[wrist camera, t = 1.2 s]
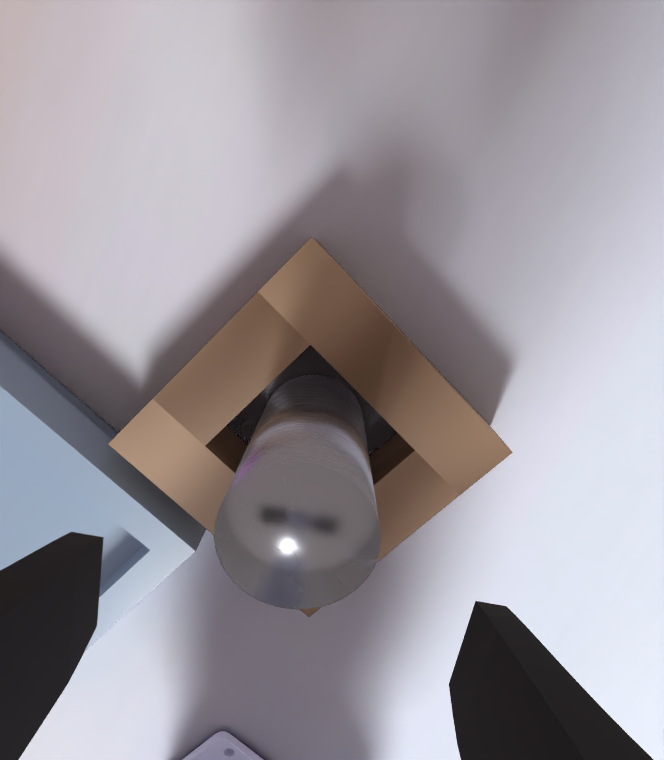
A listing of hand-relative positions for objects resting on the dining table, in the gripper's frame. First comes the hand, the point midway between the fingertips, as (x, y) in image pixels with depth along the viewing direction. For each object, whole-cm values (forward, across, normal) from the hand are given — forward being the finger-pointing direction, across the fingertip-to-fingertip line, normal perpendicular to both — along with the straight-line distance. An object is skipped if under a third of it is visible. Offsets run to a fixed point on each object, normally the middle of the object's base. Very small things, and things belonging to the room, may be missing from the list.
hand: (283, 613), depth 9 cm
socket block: (+10, 0, 0) cm, 10 cm away
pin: (+10, 0, 0) cm, 10 cm away
